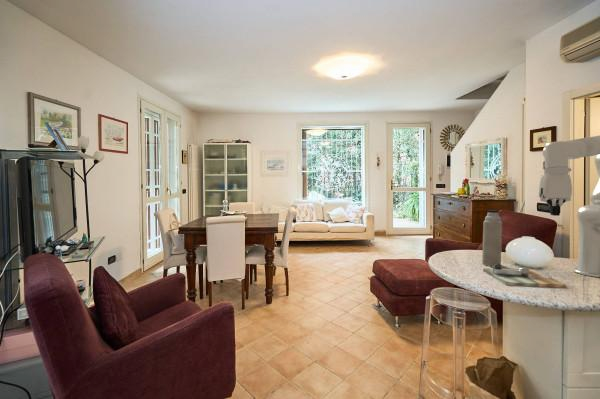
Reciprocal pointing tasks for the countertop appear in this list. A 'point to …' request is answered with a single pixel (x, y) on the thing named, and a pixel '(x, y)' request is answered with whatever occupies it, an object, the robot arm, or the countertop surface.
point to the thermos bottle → (492, 239)
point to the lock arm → (511, 271)
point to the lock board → (525, 279)
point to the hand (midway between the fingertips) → (555, 215)
